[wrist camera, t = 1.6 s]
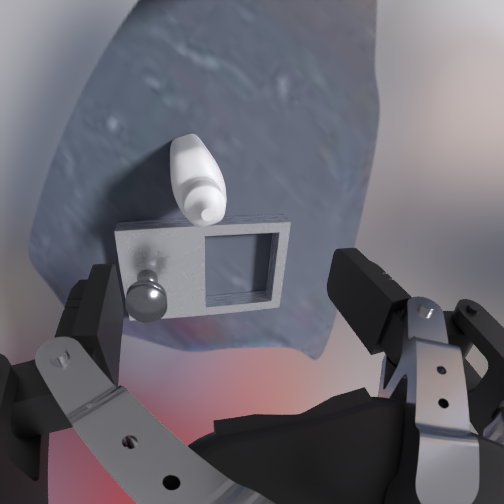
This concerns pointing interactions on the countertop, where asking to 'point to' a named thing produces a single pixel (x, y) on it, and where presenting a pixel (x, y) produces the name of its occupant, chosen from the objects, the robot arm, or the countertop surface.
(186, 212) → the eye dropper bottle
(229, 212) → the countertop surface
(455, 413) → the robot arm
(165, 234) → the bolt plate
